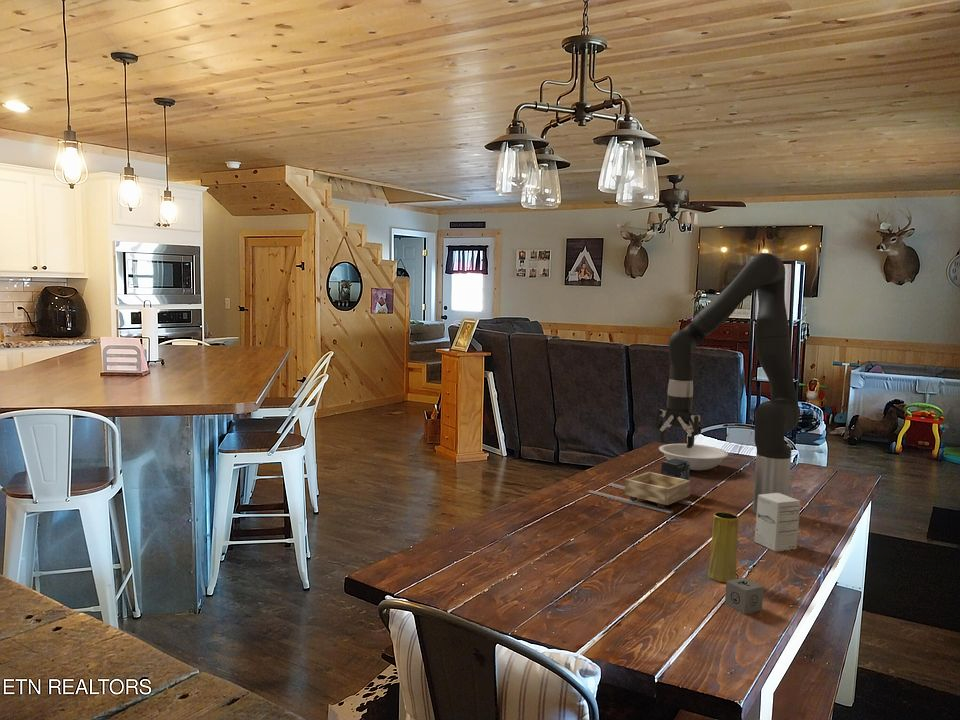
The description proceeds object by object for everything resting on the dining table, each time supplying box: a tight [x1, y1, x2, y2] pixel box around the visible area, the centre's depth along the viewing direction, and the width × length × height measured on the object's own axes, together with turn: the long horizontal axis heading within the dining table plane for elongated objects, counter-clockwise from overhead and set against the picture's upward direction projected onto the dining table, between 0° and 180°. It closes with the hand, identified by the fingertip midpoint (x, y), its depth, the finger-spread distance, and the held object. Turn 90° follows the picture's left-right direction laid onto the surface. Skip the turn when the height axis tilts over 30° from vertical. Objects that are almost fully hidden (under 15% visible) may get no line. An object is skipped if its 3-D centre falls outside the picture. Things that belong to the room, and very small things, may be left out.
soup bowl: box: [658, 443, 729, 471], centre depth 261 cm, size 24×24×7 cm
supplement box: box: [754, 493, 802, 552], centre depth 182 cm, size 7×7×13 cm
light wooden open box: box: [624, 471, 692, 508], centre depth 216 cm, size 14×14×6 cm
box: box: [660, 458, 690, 480], centre depth 227 cm, size 8×6×11 cm
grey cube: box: [724, 576, 765, 615], centre depth 146 cm, size 5×5×5 cm
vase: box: [707, 511, 739, 583], centre depth 160 cm, size 6×6×14 cm
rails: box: [587, 482, 693, 515], centre depth 221 cm, size 28×14×1 cm, turn 48°
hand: (676, 445), depth 226 cm, fingers open, 8 cm apart
